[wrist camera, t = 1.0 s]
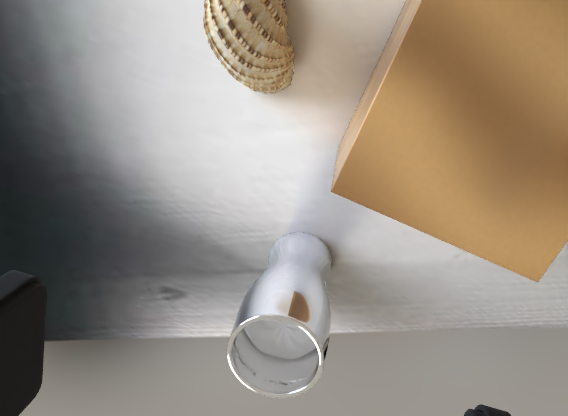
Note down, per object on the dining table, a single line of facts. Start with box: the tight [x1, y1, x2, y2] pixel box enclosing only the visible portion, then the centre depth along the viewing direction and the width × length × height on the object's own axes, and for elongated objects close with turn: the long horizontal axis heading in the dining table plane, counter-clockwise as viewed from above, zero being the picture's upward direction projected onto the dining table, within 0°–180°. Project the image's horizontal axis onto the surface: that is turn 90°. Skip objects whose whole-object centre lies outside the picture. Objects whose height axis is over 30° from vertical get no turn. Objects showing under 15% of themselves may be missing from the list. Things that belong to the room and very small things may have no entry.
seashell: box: [203, 0, 295, 93], centre depth 37 cm, size 8×6×10 cm
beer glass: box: [227, 232, 331, 398], centre depth 38 cm, size 7×7×15 cm
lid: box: [331, 0, 568, 282], centre depth 23 cm, size 17×14×6 cm
